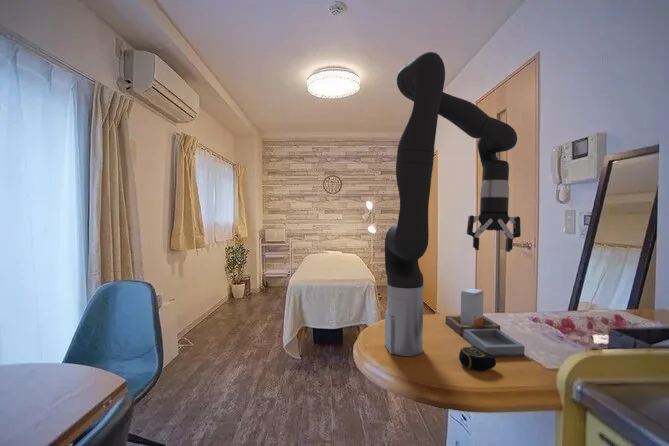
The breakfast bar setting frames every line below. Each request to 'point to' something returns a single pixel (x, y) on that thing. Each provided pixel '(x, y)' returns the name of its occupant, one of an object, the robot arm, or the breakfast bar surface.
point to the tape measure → (476, 359)
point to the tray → (494, 342)
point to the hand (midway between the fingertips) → (492, 250)
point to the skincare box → (471, 307)
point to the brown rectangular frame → (459, 329)
